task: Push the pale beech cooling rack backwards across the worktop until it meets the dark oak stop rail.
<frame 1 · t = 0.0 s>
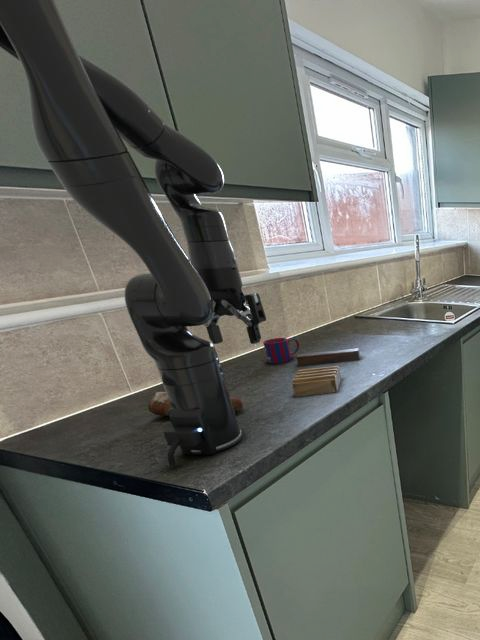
hand: (237, 342, 89), 17 cm above the worktop, tool pointing down, fingers open, 8 cm apart
mug: (285, 360, 135), on the worktop
rack: (319, 387, 111), on the worktop
bread: (203, 413, 97), on the worktop
stop rail: (330, 361, 132), on the worktop
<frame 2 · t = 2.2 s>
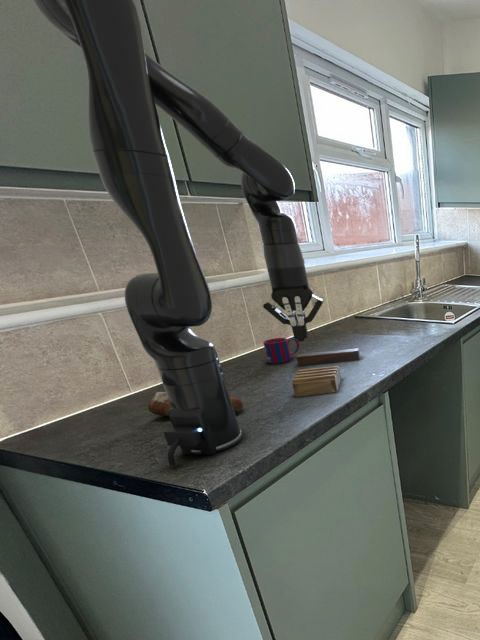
hand: (302, 340, 98), 15 cm above the worktop, tool pointing down, fingers closed
nothing on the worktop moved.
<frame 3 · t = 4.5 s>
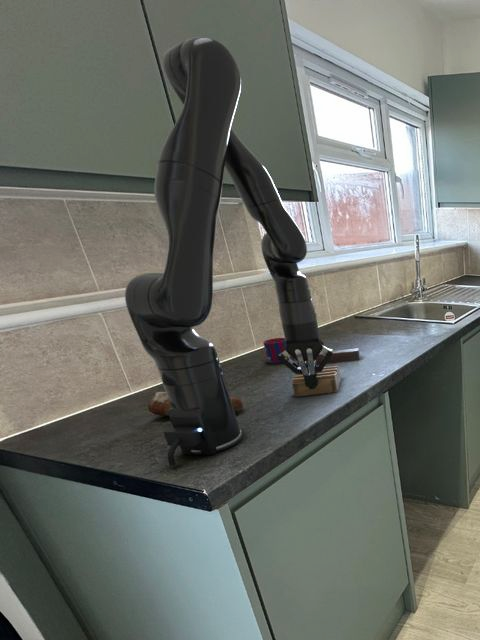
hand: (312, 387, 104), 2 cm above the worktop, tool pointing down, fingers closed
rack: (319, 387, 111), on the worktop, touching gripper
everything else where it was.
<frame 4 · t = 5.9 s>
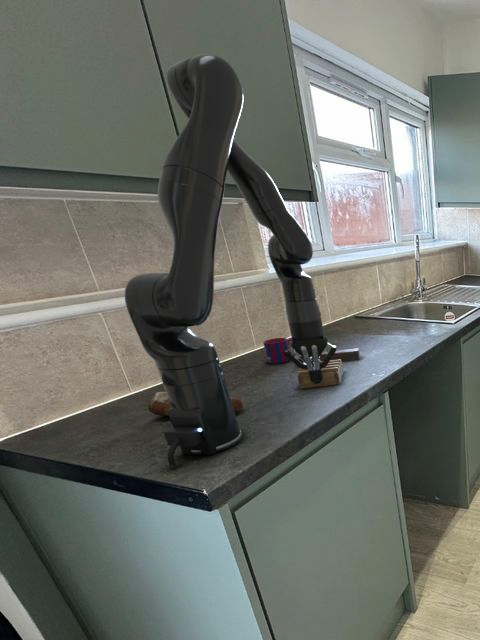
hand: (317, 382, 110), 2 cm above the worktop, tool pointing down, fingers closed
rack: (323, 380, 116), on the worktop, touching gripper
everything else where it was.
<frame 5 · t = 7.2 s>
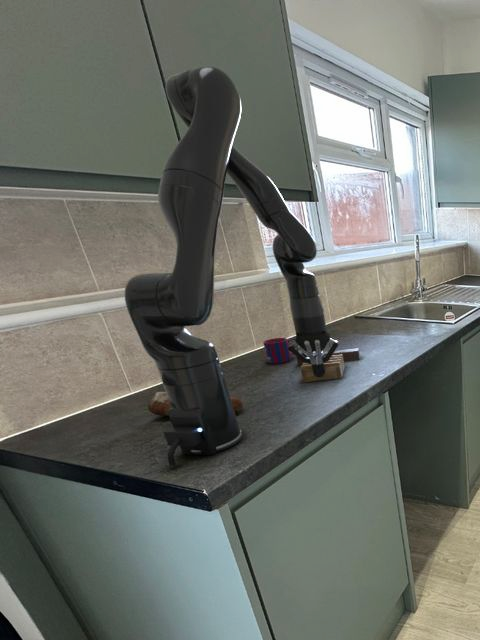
hand: (320, 376, 114), 2 cm above the worktop, tool pointing down, fingers closed
rack: (325, 374, 120), on the worktop, touching gripper
everything else where it was.
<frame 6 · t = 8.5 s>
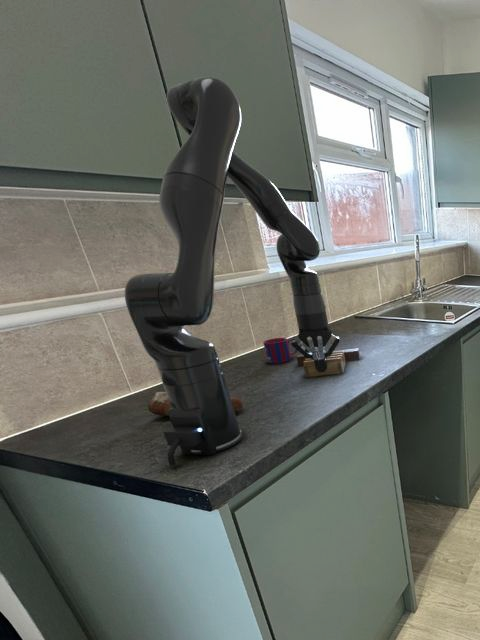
hand: (322, 371, 118), 2 cm above the worktop, tool pointing down, fingers closed
rack: (326, 369, 124), on the worktop, touching gripper
everything else where it was.
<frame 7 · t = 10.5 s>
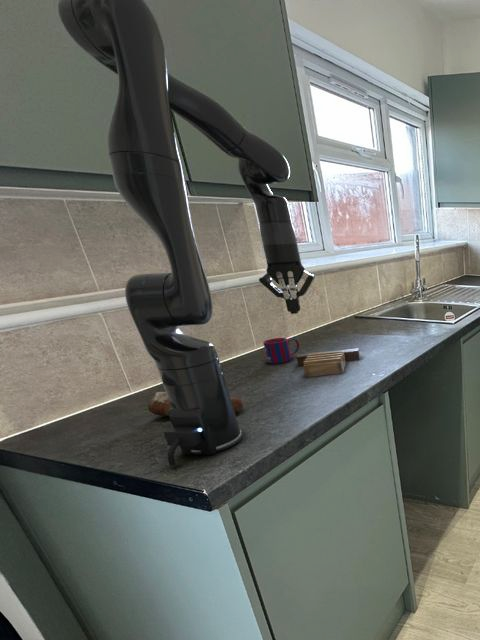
hand: (295, 313, 107), 19 cm above the worktop, tool pointing down, fingers closed
rack: (326, 369, 124), on the worktop
everything else where it was.
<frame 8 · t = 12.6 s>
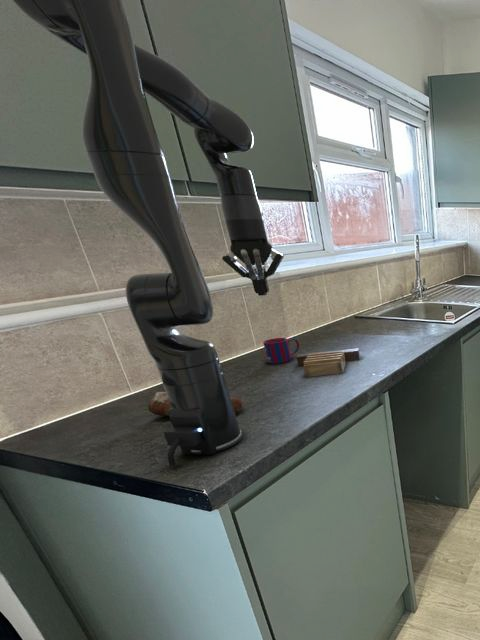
hand: (263, 294, 100), 25 cm above the worktop, tool pointing down, fingers closed
nothing on the worktop moved.
at the end: rack 1.2 cm from the target spot on the worktop beside the stop rail, on the worktop; rack moved 15.1 cm from its start; rack tilted 0° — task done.
